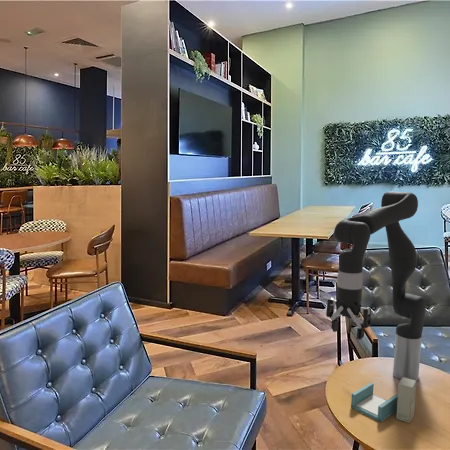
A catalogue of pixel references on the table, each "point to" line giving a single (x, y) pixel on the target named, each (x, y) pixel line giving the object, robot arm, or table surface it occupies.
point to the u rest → (373, 403)
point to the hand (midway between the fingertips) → (347, 335)
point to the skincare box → (406, 399)
